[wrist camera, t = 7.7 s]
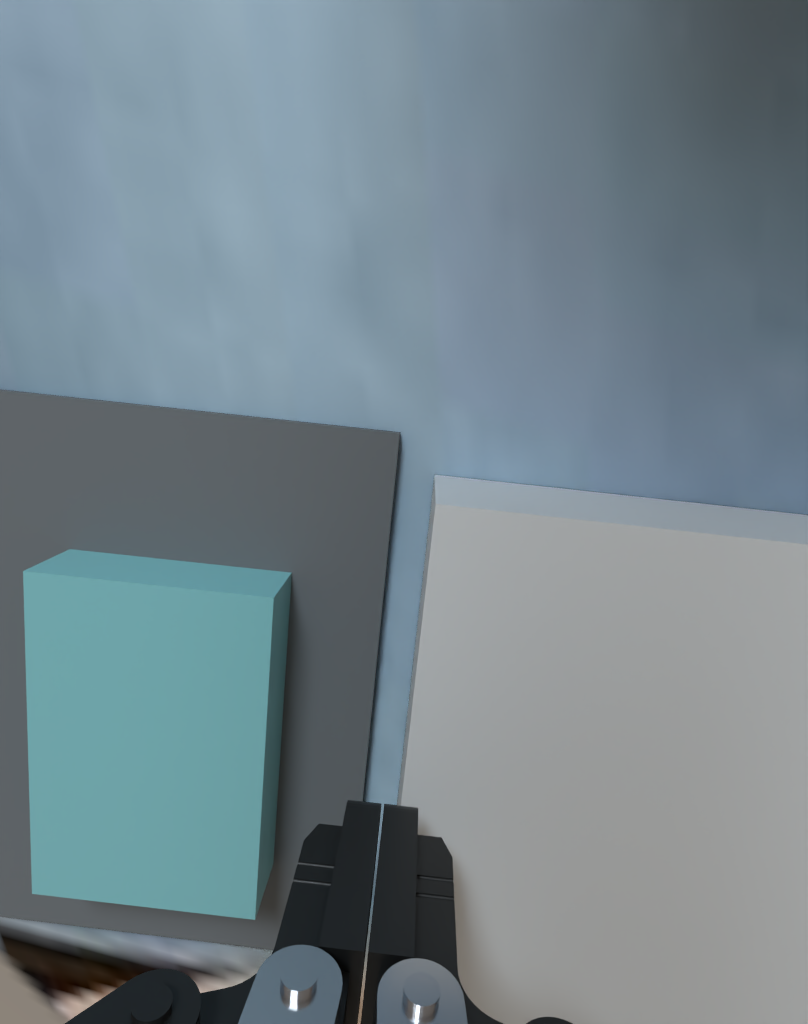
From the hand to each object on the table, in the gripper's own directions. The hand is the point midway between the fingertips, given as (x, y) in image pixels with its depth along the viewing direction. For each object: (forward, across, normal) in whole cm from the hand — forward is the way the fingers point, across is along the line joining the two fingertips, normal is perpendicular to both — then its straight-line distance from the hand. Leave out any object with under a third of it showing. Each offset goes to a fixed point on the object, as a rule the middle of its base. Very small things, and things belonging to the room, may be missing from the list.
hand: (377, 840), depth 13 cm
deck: (+5, -10, 0) cm, 12 cm away
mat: (+5, +7, 0) cm, 8 cm away
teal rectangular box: (+3, +6, 0) cm, 7 cm away
